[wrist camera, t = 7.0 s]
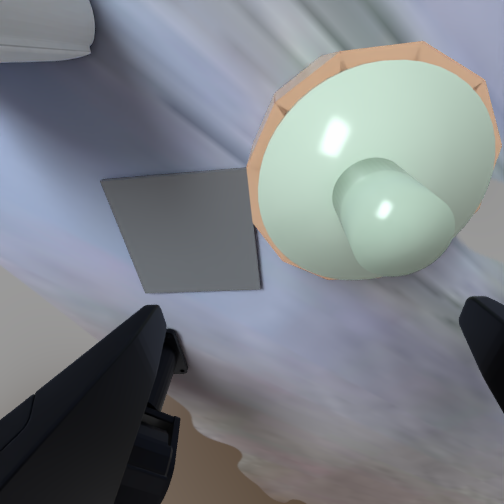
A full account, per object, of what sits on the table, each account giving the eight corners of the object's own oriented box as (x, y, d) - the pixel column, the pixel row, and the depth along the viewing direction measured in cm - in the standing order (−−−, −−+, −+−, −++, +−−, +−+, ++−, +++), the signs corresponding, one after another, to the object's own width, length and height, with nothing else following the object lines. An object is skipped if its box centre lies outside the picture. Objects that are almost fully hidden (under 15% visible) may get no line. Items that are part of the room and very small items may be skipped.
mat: (260, 286, 24) (260, 289, 23) (147, 290, 25) (145, 293, 24) (247, 167, 18) (247, 169, 18) (103, 179, 19) (100, 181, 19)
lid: (447, 267, 16) (507, 337, 12) (266, 274, 17) (263, 340, 13) (523, 43, 10) (685, 29, 6) (248, 76, 11) (233, 81, 7)
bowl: (417, 231, 20) (454, 275, 16) (262, 240, 21) (259, 282, 17) (464, 37, 14) (545, 26, 10) (245, 64, 15) (234, 64, 11)
